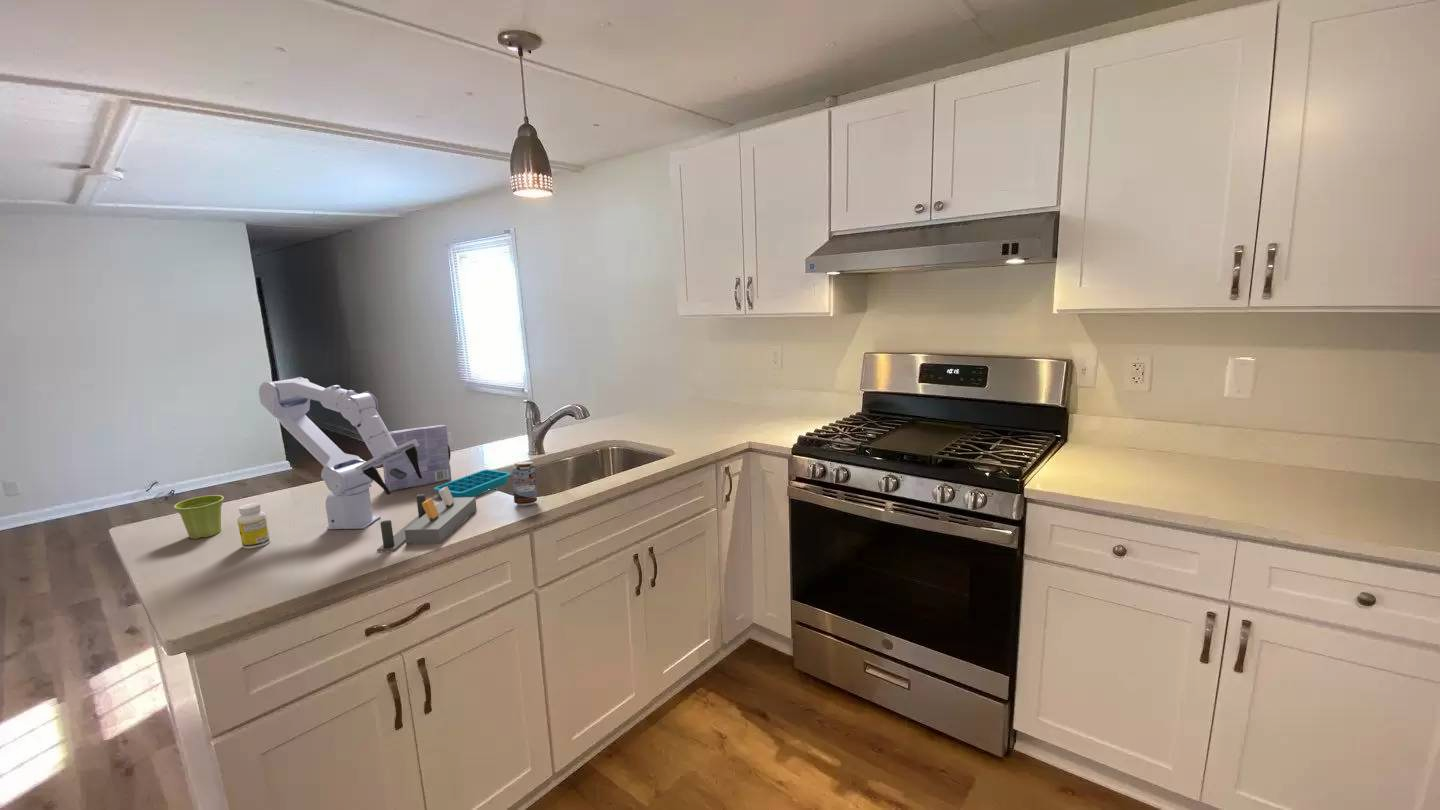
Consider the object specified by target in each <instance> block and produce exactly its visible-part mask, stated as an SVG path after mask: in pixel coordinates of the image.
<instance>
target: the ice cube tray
mask: <svg viewBox="0 0 1440 810" xmlns="http://www.w3.org/2000/svg"><path fill="white" fill-rule="evenodd" d="M511 475H512V473H511V472H507V471H501V470H493V469H482V470H480V471H477V472H473V473H471V474H468V475H465V476H462V477H460V478H457V479H454V480H452V481H451V480H450V481H449V482H446V483H442V484H441V485H437V486H435V487H434V488H433V489H434V490H435V491H437V493H438V496H440V494H439V490H441V489H442V488H444V487H447V486H448V488H449V491H450V493H451V495H452V497H453V498H459V497H473V496H474V497H476V496H478V494H479V495H481V494H484V493H486V492H488V491H487V490H488V489H491V490H493V489H496V488H499V487H501V486H503V485H505V484H507V483H508V482H509V476H511ZM485 491H486V492H485ZM483 492H484V493H483ZM439 498H441V496H440V497H439Z"/></svg>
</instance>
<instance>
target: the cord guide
mask: <svg viewBox="0 0 1440 810" xmlns="http://www.w3.org/2000/svg"><path fill="white" fill-rule="evenodd" d="M426 496H427V495H426V493H419V494H417V495H416V496H415V498H416V505H417V506H416V507H417V515H416V517H415V518H414V519H412V520H411V521H410V522H408V524H406V525H405V526H404V527H403V528H401V529H400V530H399V531H398V532H396V533H395V534H394V532H393V526H392V525H393V524H392V520H391V519H386V520H382V521H381V522H380V530H381V536H382V545H380V546H379V547H378V548H377V549H376V550H377V551H376V552H377V553H381V552H383V553H385V552H386V551H389V552H396V551H397V550H398V549H399V548H401V547H402V546H403V545H404V544H405V543H406V536H405V529H407V528H408V527H409V526H410V525H412V524H413V523H414V522H416V521H417V520H418V519H419V518H421V517H422V516H423V515H424V514H426V512H425V510H424V508H423V506H422V503H423V502H424V501H426V500H427V497H426ZM401 545H402V546H401Z"/></svg>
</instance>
